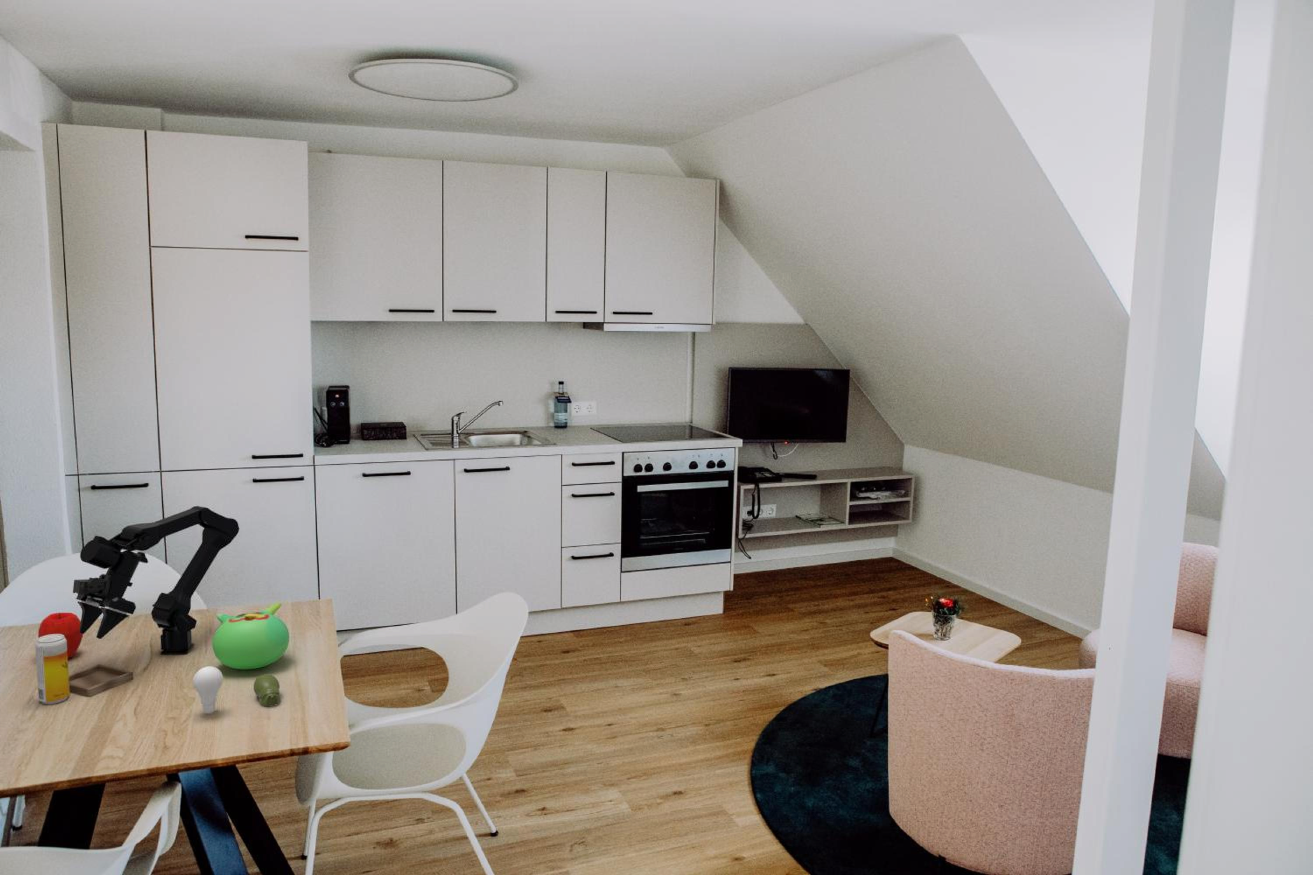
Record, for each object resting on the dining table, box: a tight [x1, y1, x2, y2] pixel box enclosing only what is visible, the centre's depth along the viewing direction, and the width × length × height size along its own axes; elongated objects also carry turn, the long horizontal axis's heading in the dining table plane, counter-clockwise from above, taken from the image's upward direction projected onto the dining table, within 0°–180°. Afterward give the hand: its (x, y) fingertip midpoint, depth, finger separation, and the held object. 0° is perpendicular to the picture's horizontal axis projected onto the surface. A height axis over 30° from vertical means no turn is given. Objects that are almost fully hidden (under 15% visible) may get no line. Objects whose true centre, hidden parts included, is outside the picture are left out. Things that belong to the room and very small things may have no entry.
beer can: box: [34, 634, 71, 705], centre depth 213 cm, size 6×6×15 cm
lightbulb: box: [192, 666, 224, 715], centre depth 209 cm, size 6×6×11 cm
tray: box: [69, 663, 134, 698], centre depth 223 cm, size 12×12×2 cm
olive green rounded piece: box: [253, 673, 281, 708], centre depth 218 cm, size 6×5×10 cm
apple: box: [37, 612, 84, 659], centre depth 237 cm, size 10×10×12 cm
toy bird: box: [212, 602, 290, 670], centre depth 236 cm, size 18×17×15 cm
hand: (89, 635), depth 223 cm, fingers open, 9 cm apart
